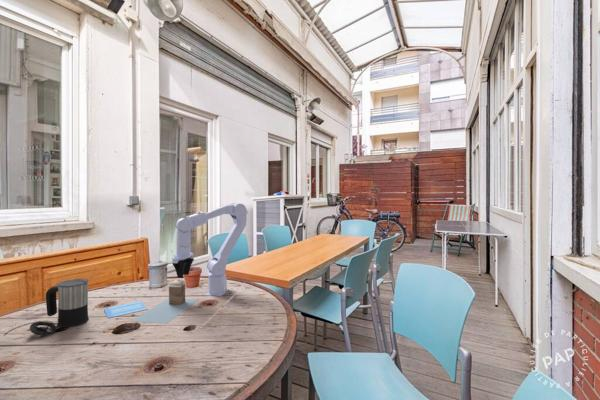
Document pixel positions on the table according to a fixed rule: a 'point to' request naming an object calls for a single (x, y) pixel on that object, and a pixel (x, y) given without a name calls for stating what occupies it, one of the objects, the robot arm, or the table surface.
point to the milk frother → (65, 306)
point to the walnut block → (176, 292)
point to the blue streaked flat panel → (125, 309)
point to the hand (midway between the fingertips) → (183, 276)
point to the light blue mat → (164, 312)
